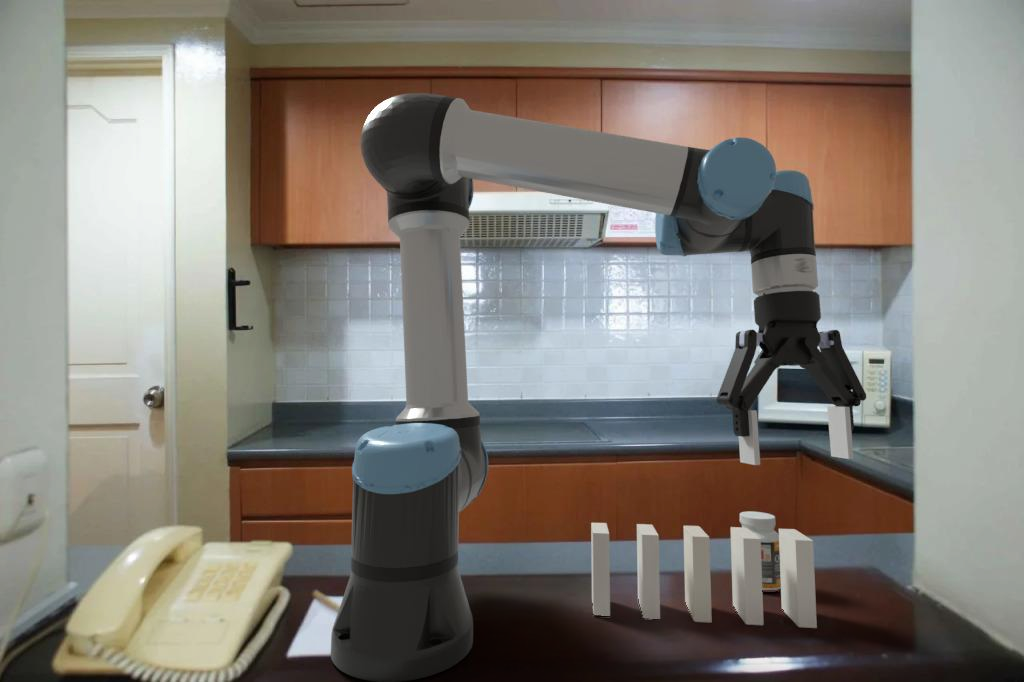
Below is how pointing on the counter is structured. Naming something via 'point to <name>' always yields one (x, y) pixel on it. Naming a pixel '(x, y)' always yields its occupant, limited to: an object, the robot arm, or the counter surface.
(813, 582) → the domino
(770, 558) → the pill bottle
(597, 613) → the domino
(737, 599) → the domino
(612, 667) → the counter surface
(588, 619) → the counter surface
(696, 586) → the domino
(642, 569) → the domino
